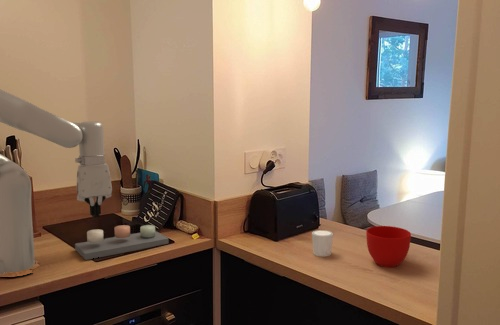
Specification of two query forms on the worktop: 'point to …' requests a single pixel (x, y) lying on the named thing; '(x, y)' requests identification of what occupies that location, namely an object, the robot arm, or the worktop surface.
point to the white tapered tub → (322, 242)
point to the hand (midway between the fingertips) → (95, 216)
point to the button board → (119, 245)
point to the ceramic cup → (388, 244)
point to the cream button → (95, 236)
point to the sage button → (147, 231)
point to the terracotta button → (122, 231)
